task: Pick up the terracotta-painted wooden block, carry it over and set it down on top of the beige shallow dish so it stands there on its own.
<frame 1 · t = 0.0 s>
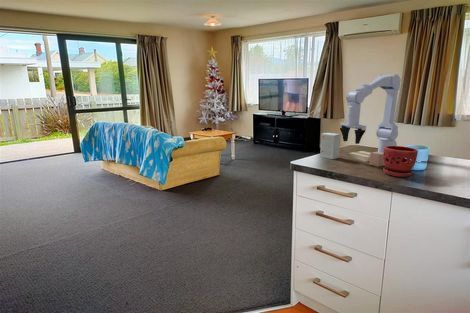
hand: (351, 142, 157), 10 cm above the worktop, tool pointing down, fingers open, 7 cm apart
clay block: (377, 164, 154), on the worktop
plant pot: (397, 174, 138), on the worktop
small box: (329, 157, 169), on the worktop
beige shallow dish: (363, 159, 166), on the worktop
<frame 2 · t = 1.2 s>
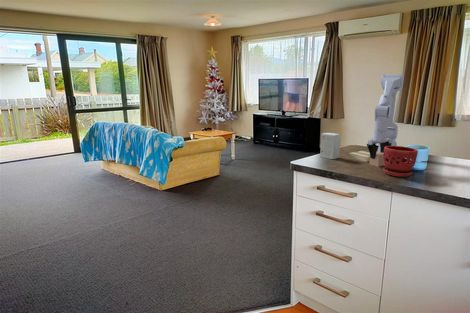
hand: (377, 157, 153), 4 cm above the worktop, tool pointing down, fingers open, 7 cm apart
nothing on the worktop moved.
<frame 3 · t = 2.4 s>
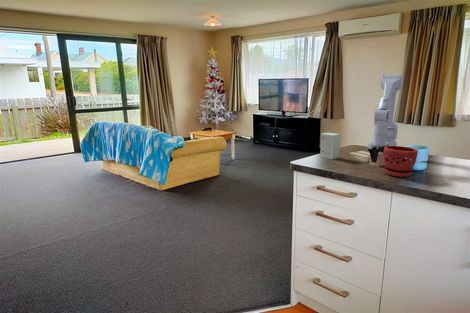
hand: (377, 161, 153), 2 cm above the worktop, tool pointing down, fingers closed on clay block, 5 cm apart
clay block: (377, 164, 153), on the worktop, touching gripper
everything else where it was.
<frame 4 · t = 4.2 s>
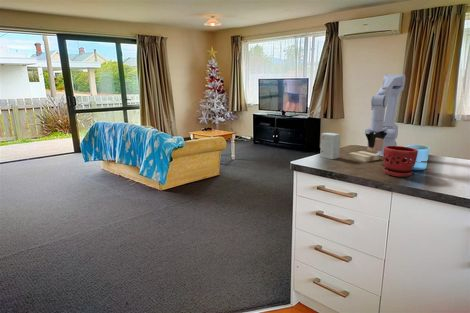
hand: (374, 146, 155), 8 cm above the worktop, tool pointing down, fingers closed on clay block, 5 cm apart
clay block: (374, 150, 156), point 6 cm above the worktop, touching gripper
everything else where it was.
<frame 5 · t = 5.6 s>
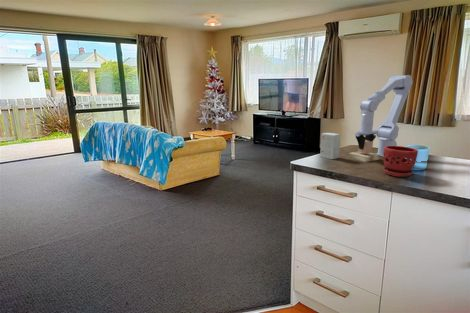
hand: (364, 148, 165), 5 cm above the worktop, tool pointing down, fingers closed on clay block, 5 cm apart
clay block: (364, 152, 165), point 3 cm above the worktop, touching gripper
everything else where it was.
when the fingers open (5 cm above the worktop, at t = 6.3 s): clay block drops 1 cm, resting on beige shallow dish.
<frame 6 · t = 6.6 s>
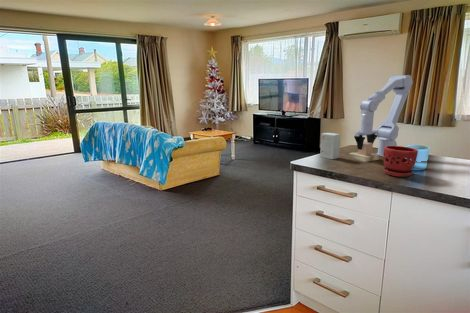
hand: (364, 148, 165), 5 cm above the worktop, tool pointing down, fingers open, 7 cm apart
clay block: (364, 154, 165), point 2 cm above the worktop, touching beige shallow dish
beige shallow dish: (363, 159, 166), on the worktop, touching clay block
everything else where it was.
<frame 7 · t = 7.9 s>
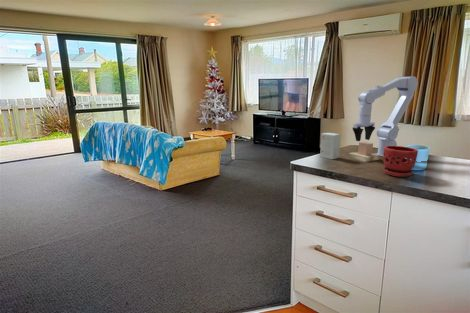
hand: (362, 140, 166), 9 cm above the worktop, tool pointing down, fingers open, 7 cm apart
nothing on the worktop moved.
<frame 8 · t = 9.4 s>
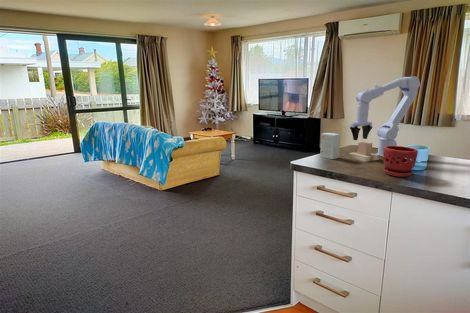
hand: (360, 139, 169), 9 cm above the worktop, tool pointing down, fingers open, 7 cm apart
clay block: (364, 154, 165), point 2 cm above the worktop
beige shallow dish: (363, 159, 166), on the worktop
everything else where it was.
at the end: clay block inside the target area on the beige shallow dish (0.1 cm from its centre), point 3.0 cm above the beige shallow dish's base; clay block tilted 0°; clay block touching beige shallow dish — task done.
